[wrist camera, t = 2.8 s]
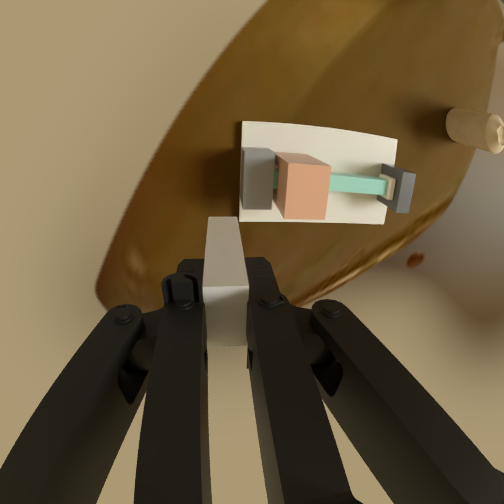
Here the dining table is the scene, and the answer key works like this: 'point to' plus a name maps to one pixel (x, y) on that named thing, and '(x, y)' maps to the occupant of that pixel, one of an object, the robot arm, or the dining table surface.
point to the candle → (476, 129)
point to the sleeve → (301, 186)
